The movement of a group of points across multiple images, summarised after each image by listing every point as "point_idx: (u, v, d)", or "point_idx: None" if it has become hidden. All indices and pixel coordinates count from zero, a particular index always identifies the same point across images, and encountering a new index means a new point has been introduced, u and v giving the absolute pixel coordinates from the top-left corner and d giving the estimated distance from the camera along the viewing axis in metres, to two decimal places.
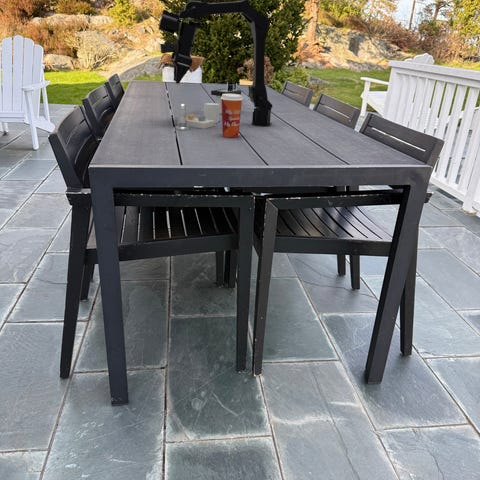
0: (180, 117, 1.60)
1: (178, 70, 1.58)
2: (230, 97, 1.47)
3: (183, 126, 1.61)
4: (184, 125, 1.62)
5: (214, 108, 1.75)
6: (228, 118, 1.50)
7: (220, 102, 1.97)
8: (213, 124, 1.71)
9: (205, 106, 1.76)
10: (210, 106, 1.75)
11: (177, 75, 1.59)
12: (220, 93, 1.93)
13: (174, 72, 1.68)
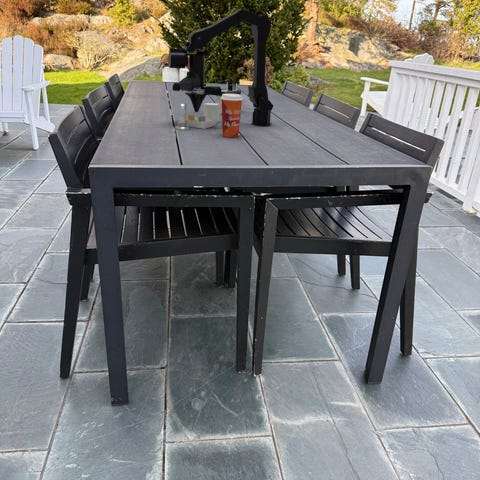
0: (180, 117, 1.60)
1: (199, 100, 1.65)
2: (230, 97, 1.47)
3: (183, 126, 1.61)
4: (184, 125, 1.62)
5: (214, 108, 1.75)
6: (228, 118, 1.50)
7: (220, 102, 1.97)
8: (213, 124, 1.71)
9: (205, 106, 1.76)
10: (210, 106, 1.75)
11: (198, 105, 1.67)
12: None
13: (194, 104, 1.67)
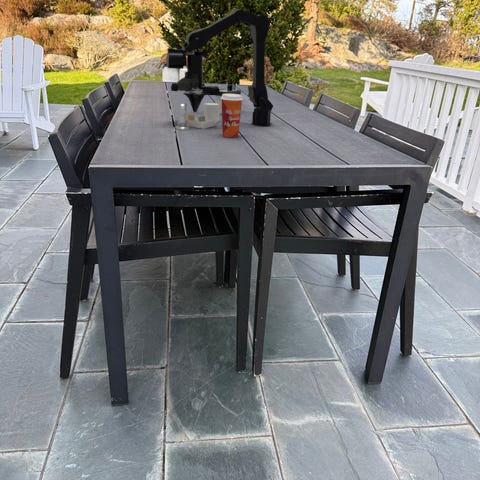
0: (180, 117, 1.60)
1: (197, 100, 1.66)
2: (230, 97, 1.47)
3: (183, 126, 1.61)
4: (184, 125, 1.62)
5: (214, 108, 1.75)
6: (228, 118, 1.50)
7: (220, 102, 1.97)
8: (213, 124, 1.71)
9: (205, 106, 1.76)
10: (210, 106, 1.75)
11: (196, 105, 1.67)
12: (220, 93, 1.93)
13: (193, 104, 1.67)
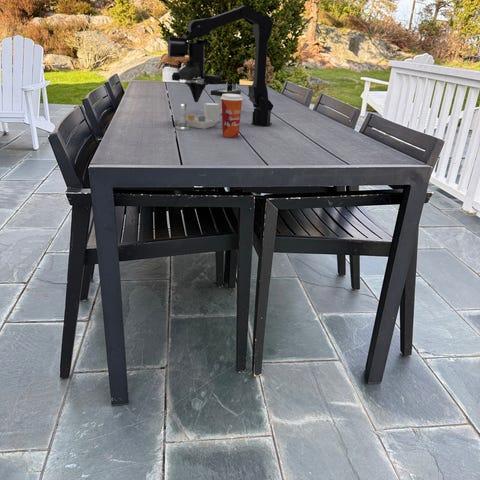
0: (180, 117, 1.60)
1: (198, 89, 1.64)
2: (230, 97, 1.47)
3: (183, 126, 1.61)
4: (184, 125, 1.62)
5: (214, 108, 1.75)
6: (228, 118, 1.50)
7: (220, 102, 1.97)
8: (213, 124, 1.71)
9: (205, 106, 1.76)
10: (210, 106, 1.75)
11: (198, 94, 1.65)
12: (220, 93, 1.93)
13: (194, 94, 1.65)
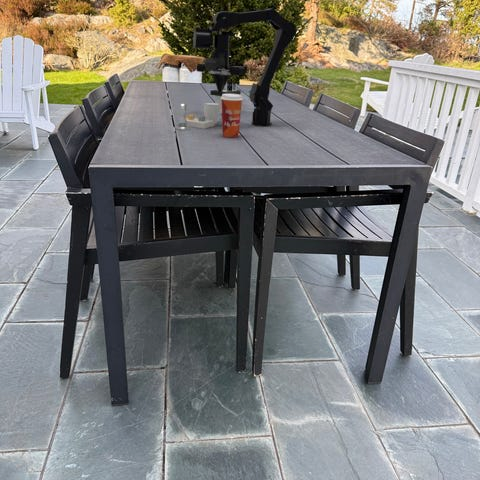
0: (180, 117, 1.60)
1: (223, 80, 1.66)
2: (230, 97, 1.47)
3: (183, 126, 1.61)
4: (184, 125, 1.62)
5: (214, 108, 1.75)
6: (228, 118, 1.50)
7: (219, 102, 1.97)
8: (213, 124, 1.71)
9: (205, 106, 1.76)
10: (210, 106, 1.75)
11: (222, 85, 1.67)
12: (219, 93, 1.93)
13: (218, 85, 1.68)
